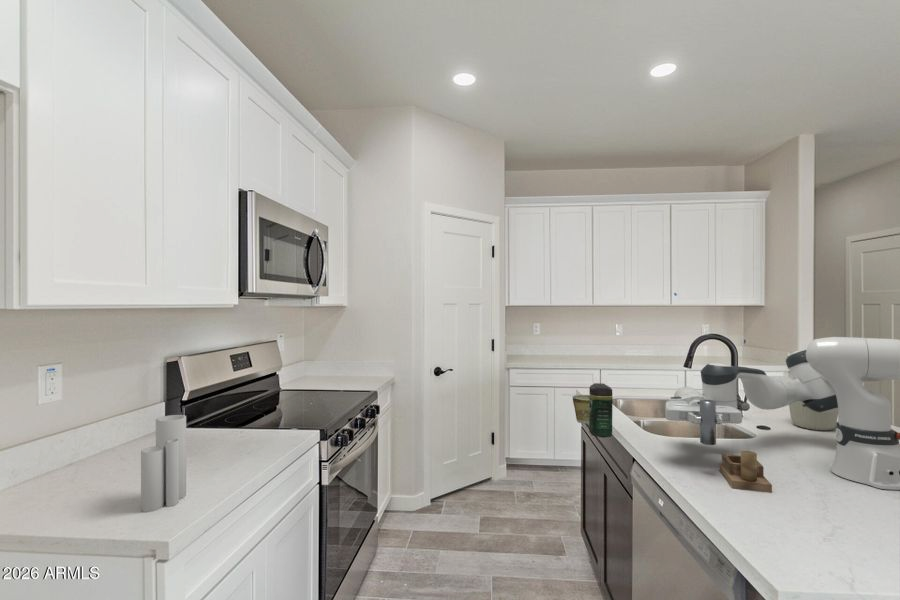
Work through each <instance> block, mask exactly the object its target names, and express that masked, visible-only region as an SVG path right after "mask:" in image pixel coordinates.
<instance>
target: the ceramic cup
mask: <svg viewBox="0 0 900 600" xmlns="http://www.w3.org/2000/svg"><path fill="white" fill-rule="evenodd" d="M572 402H573V403H572V404H573V407H574V412H575V418H576V419H575V420H576V422H577V423H580V424H585V425H586V424H587V425H589V405H590V398H589V394H574V395H573V396H572Z"/></svg>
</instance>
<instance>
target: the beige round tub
mask: <svg viewBox="0 0 900 600" xmlns="http://www.w3.org/2000/svg"><path fill="white" fill-rule="evenodd" d="M792 379H793V378H792ZM793 380H794V379H793ZM802 405H804V403H803V402H802V401H797V402H794V403H791V404H789V405H788V409H789V414H790V415H789V416H790V419H791V421H792V423H793V424H794V425H795V426H797V427H798V428H799V427H800V428H804V429H807V430H812V431H831V430H833V429H834V428H836V423H837V422H838V411H836V412H832V413H823V412H820V413H819V412H816V411H813V410H811V409H809V408H808V407H803V406H802Z"/></svg>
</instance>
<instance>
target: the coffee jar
mask: <svg viewBox="0 0 900 600" xmlns="http://www.w3.org/2000/svg"><path fill="white" fill-rule="evenodd" d="M588 388H589V389H588V390H589V393H588V395H589V398H590V405H589V424H588V426H589V427H588V429H589V433H590V435H591V436H593V437H598V438H603V439H604V438H611V437H612V436H613V389H612V387H610V386H608V384H607V385H606V384H605V383H602V382H601V383H599V382H597V383H596V382H594V383H593V384H591V385H590V386H589V387H588Z"/></svg>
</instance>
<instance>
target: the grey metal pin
mask: <svg viewBox="0 0 900 600" xmlns="http://www.w3.org/2000/svg"><path fill="white" fill-rule="evenodd" d="M700 417H701V423H700V424H699V443H700V444H702V445H706V446H715V445H717V424H716V402H715V401H713V400H700Z"/></svg>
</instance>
